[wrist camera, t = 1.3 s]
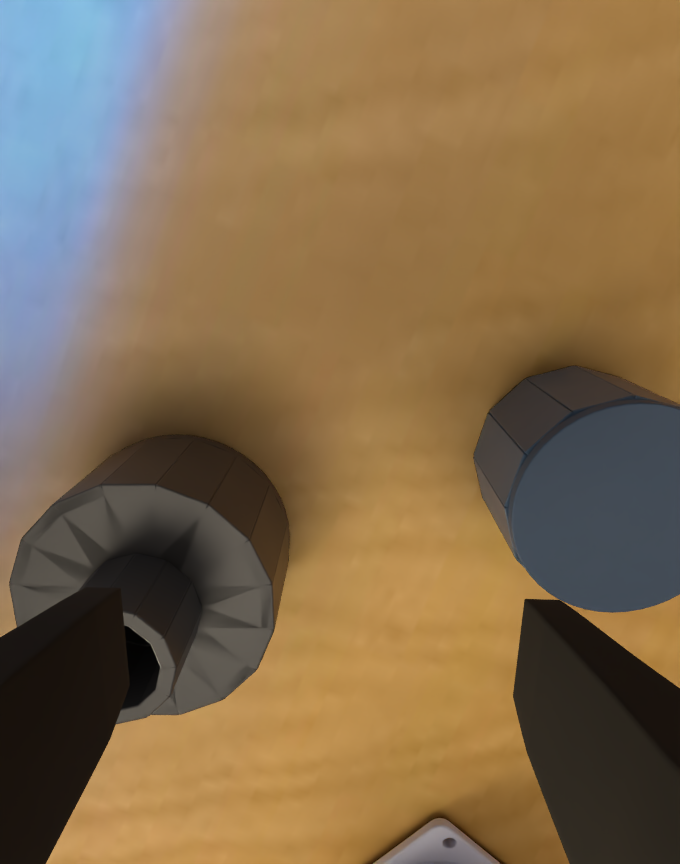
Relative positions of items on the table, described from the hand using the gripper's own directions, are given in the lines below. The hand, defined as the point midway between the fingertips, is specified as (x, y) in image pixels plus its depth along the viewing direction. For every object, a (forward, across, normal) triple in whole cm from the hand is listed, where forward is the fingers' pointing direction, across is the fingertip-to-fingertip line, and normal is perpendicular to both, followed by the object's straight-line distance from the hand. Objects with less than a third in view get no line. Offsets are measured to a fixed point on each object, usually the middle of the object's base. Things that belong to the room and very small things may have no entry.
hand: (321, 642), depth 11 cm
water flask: (+10, +5, +3) cm, 11 cm away
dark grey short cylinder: (+10, -8, 0) cm, 12 cm away
